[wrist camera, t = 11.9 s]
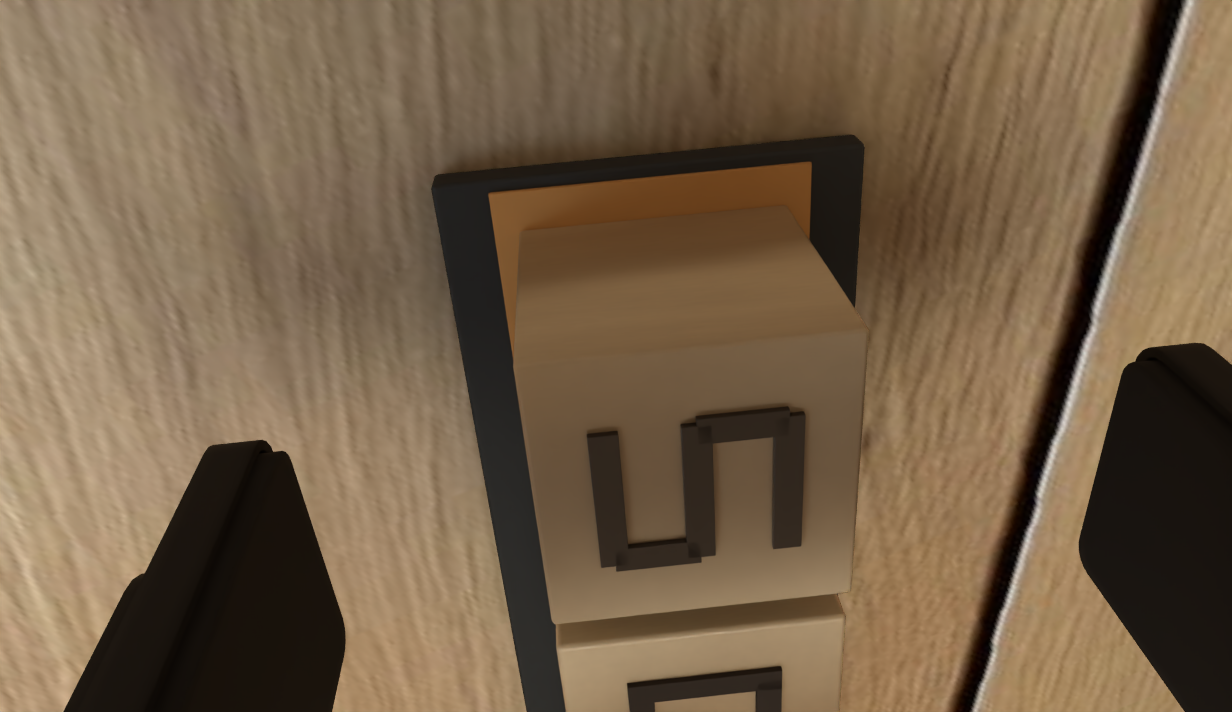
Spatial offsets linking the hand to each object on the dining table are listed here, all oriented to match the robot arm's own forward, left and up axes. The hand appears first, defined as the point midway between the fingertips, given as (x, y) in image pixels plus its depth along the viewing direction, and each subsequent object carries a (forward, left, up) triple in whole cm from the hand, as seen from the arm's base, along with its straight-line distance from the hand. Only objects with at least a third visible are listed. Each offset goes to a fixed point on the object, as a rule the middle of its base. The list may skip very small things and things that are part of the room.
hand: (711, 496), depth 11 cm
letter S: (+1, 0, -6) cm, 6 cm away
